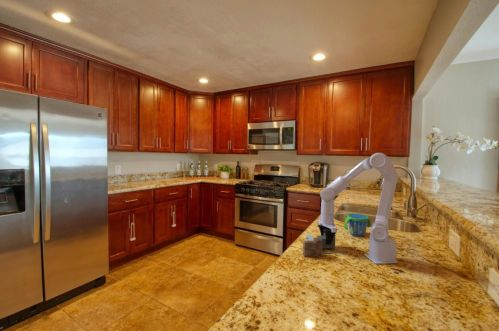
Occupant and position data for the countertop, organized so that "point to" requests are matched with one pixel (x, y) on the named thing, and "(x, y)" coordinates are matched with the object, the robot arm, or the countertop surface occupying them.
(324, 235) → the stepped block
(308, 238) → the pale grey bar
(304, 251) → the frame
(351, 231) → the snack cup
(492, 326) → the countertop surface
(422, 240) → the countertop surface
